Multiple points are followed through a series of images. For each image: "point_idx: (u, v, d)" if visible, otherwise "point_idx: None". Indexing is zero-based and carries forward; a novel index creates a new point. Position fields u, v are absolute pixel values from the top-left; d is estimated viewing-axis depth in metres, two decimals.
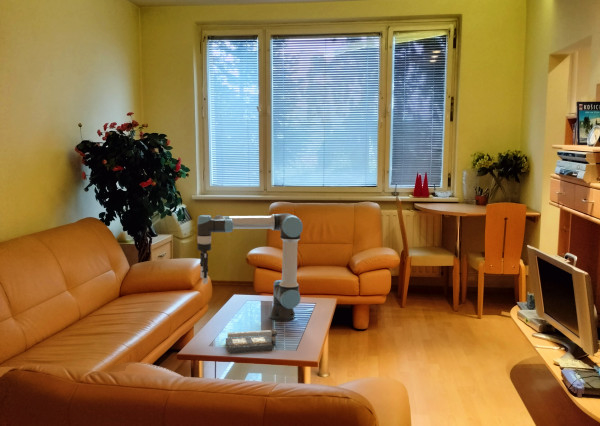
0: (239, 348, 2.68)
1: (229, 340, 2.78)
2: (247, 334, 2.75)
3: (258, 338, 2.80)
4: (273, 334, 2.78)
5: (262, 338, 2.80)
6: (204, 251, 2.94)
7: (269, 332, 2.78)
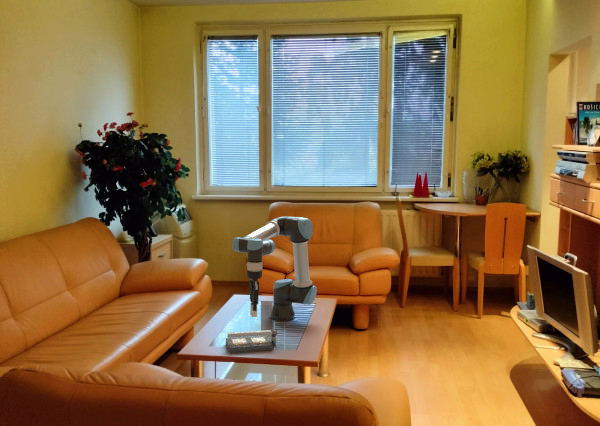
0: (239, 348, 2.68)
1: (229, 340, 2.78)
2: (247, 334, 2.75)
3: (258, 338, 2.80)
4: (273, 334, 2.78)
5: (262, 338, 2.80)
6: (255, 279, 2.63)
7: (269, 332, 2.78)
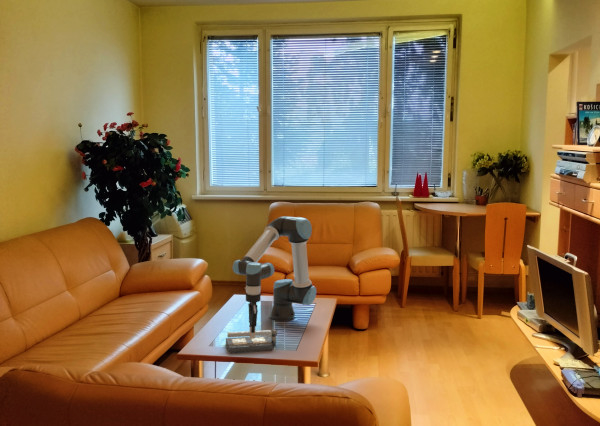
0: (239, 348, 2.68)
1: (229, 340, 2.78)
2: (247, 334, 2.75)
3: (258, 338, 2.80)
4: (273, 334, 2.78)
5: (262, 338, 2.80)
6: (254, 302, 2.70)
7: (269, 332, 2.78)
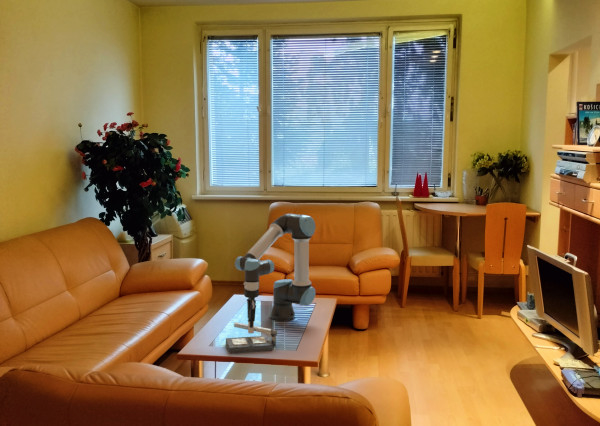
0: (239, 348, 2.68)
1: (229, 340, 2.78)
2: None
3: (258, 338, 2.80)
4: (271, 334, 2.79)
5: (262, 338, 2.80)
6: (252, 298, 2.77)
7: (268, 331, 2.80)
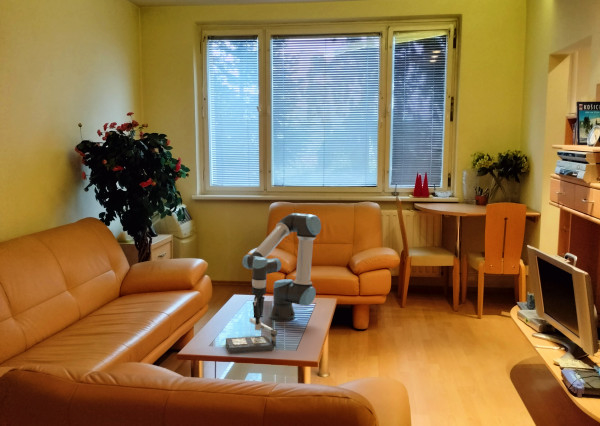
0: (239, 348, 2.68)
1: (229, 340, 2.78)
2: None
3: (258, 338, 2.80)
4: (270, 333, 2.79)
5: (262, 338, 2.80)
6: (256, 295, 2.82)
7: (269, 330, 2.81)
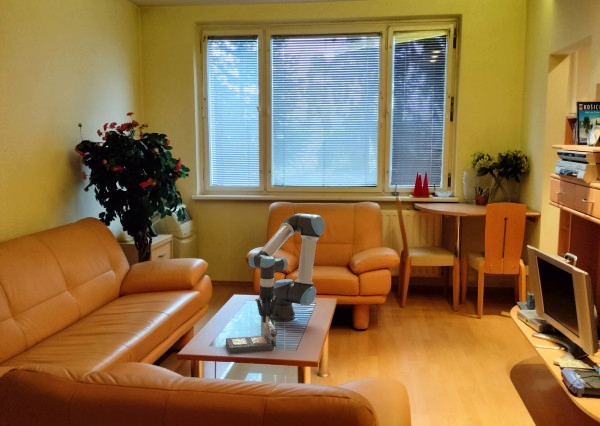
0: (239, 348, 2.68)
1: (229, 340, 2.78)
2: None
3: (258, 338, 2.80)
4: None
5: (262, 338, 2.80)
6: (260, 293, 2.87)
7: (271, 330, 2.82)
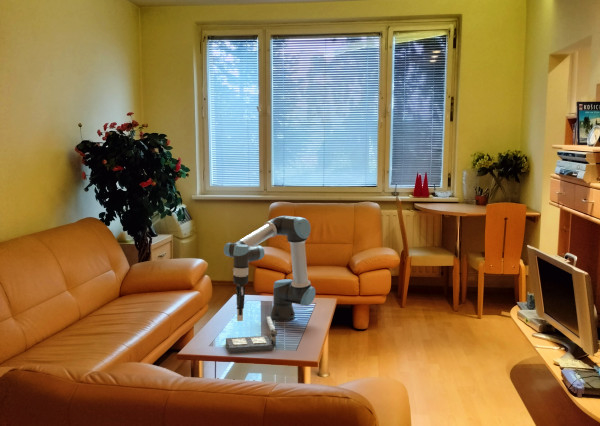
0: (239, 348, 2.68)
1: (229, 340, 2.78)
2: (268, 323, 2.93)
3: (258, 338, 2.80)
4: None
5: (262, 338, 2.80)
6: (241, 284, 2.68)
7: (271, 330, 2.82)
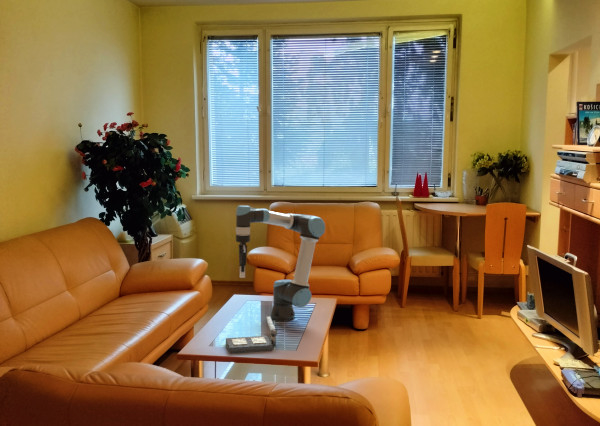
0: (239, 348, 2.68)
1: (229, 340, 2.78)
2: (268, 323, 2.93)
3: (258, 338, 2.80)
4: None
5: (262, 338, 2.80)
6: (243, 243, 2.85)
7: (271, 330, 2.82)
